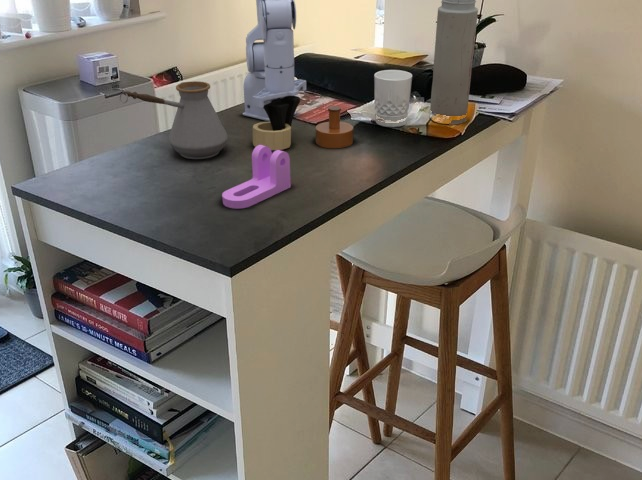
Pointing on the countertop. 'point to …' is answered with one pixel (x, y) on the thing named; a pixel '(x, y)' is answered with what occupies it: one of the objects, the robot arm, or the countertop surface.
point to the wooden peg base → (334, 131)
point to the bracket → (261, 179)
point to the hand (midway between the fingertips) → (281, 134)
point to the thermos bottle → (453, 58)
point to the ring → (271, 136)
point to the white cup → (392, 96)
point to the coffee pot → (192, 121)
